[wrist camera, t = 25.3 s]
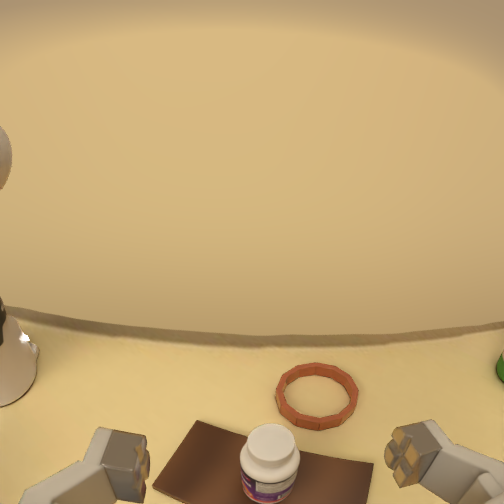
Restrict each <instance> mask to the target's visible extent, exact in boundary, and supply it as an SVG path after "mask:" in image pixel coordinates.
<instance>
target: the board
mask: <svg viewBox="0 0 504 504" xmlns="http://www.w3.org/2000/svg"><path fill="white" fill-rule="evenodd" d="M247 439H248V437H246V436H243V435H240V434H236V433H233V432H230V431H227V430H224V429H221V428H218V427H215V426H212V425H209V424H206V423H204V422H201V421H198V420H197V421H196V422H195V424H194V425H193V427H192V428H191V429H190V431H189V432H188V434H187V435H186V437H185V438H184V440H183V441H182V443H181V444H180V446H179V447H178V449H177V450H176V452H175V453H174V455H173V456H172V457H171V459H170V460H169V462H168V463H167V465H166V466H165V467H164V469H163V470H162V472H161V473H160V475H159V476H158V477H157V479H156V480H155V482H154V483H153V485H152V486H153V488H154V489H156V490H158V491H160V492H162V493H164V494H166V495H168V496H170V497H172V498H174V499H177V500H179V501H181V502H183V503H186V504H262V503H258V502H255V501H254V500H252V499H250V498H249V497H248V496H247V495H246V493H245V492H244V489H243V486H242V479H241V468H240V453H241V450H242V448H243V446H244V445H245V444H246V442H247ZM299 453H300V463H299V467H298V471H297V475H296V478H295V482H294V486H293V488H292V491H291V492H290V494H289V495H288V496H287V497H286V498H285V499H283V500H282V501H280V502H277V503H273V504H366V502H367V497H368V492H369V487H370V482H371V477H372V471H373V465H374V464H373V463H366V462H359V461H352V460H346V459H340V458H334V457H329V456H323V455H318V454H313V453H309V452H304V451H299Z"/></svg>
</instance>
